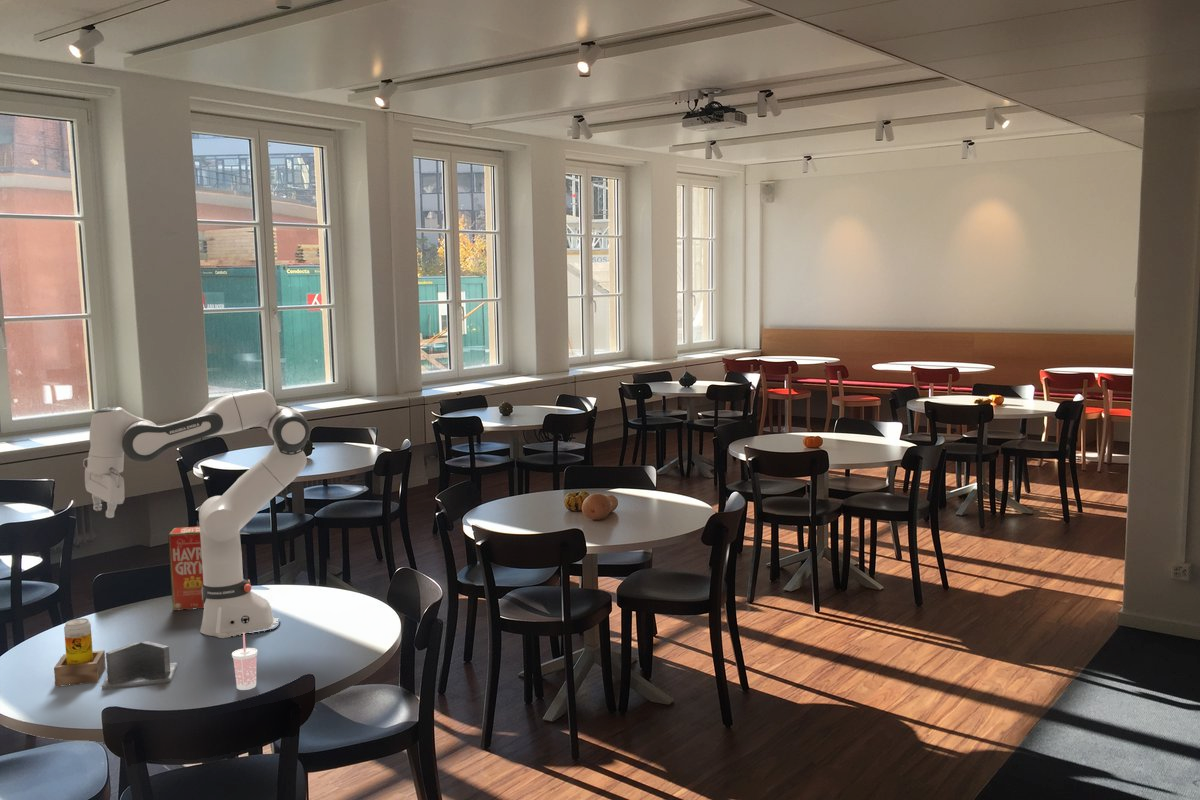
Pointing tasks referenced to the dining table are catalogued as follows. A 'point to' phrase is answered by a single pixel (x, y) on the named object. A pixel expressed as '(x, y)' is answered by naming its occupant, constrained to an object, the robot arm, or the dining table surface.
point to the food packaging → (186, 568)
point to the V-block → (138, 665)
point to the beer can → (78, 641)
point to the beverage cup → (245, 667)
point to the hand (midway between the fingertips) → (103, 513)
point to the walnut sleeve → (80, 670)
